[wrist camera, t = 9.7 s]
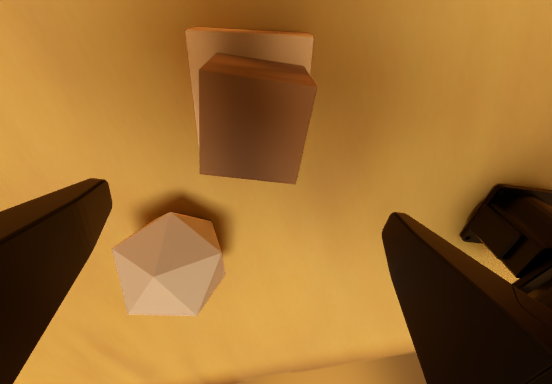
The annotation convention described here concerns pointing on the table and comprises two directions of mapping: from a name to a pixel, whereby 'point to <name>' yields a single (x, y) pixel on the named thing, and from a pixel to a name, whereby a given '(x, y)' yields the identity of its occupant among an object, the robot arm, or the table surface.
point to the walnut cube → (253, 118)
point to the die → (169, 266)
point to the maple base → (244, 50)
